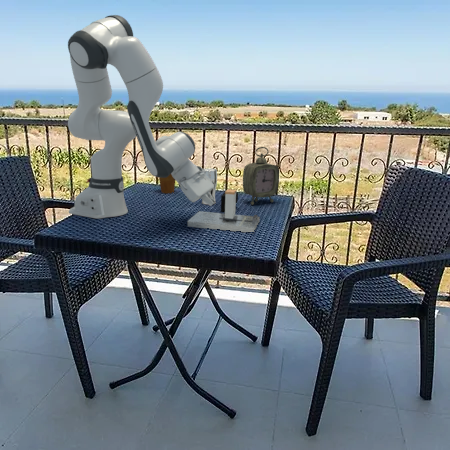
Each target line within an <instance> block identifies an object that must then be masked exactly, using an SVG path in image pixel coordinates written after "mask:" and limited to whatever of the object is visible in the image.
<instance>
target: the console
mask: <svg viewBox="0 0 450 450" xmlns="http://www.w3.org/2000/svg"><path fill="white" fill-rule="evenodd" d="M224 215H225V213H224V212H212V211H201V210H199V211H198V212H196V213H195V214H194V215H193V216H191V218H189V219H188V220H187V227H190V228H198V229H207V228H209V229H208V230H217V229H220V230H219V231H226V230H230V231H229V232H236V231H241V232H240V233H246V232H255V231H256V229H257V228H258V226H259V224H258V223H260V216H258V214H254V215H253V216H252V215H245V214H244V215H243V214H235V216H238V218H237V219H236V220H226V219H222V217H223V216H224ZM257 225H258V226H257ZM254 230H255V231H254Z"/></svg>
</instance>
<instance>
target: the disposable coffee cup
mask: <svg viewBox="0 0 450 450" xmlns="http://www.w3.org/2000/svg"><path fill="white" fill-rule="evenodd" d="M158 179H159V185H160V187H159V188H160V192H161V193H162V194H173V193H175V188H176V187H175V186H176V180H175V179H174V178H173V177H172V175H171V174H170V175H169V176H168V177H166V178H160V177H158ZM172 192H173V193H172Z"/></svg>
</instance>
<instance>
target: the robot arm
mask: <svg viewBox="0 0 450 450" xmlns="http://www.w3.org/2000/svg"><path fill="white" fill-rule="evenodd" d="M67 48H68V52H69V56H70V57H69V58H70V64H71V71H72V73H73V78H74V82H75V86H76V89H77V95H78V103H77V104H78V105H77V107H76V108H75V110H74V111H72V112H71V113H70V115H69V117H68V119H67V127H68V131H69V132H70V134H71V135H72V136H73V137H74V138H77V139H82V140H87V141H104V147H103V148H101V149H100V150H98V151H96V152H95V153H93V154H92V156H91V158H90V166H91V177H89V178H88V179H86V181H85V183H88V186H87V187H86V188H85V189H84V190H82V191H81V192H80V193H79V194H77V195H76V197H75V199H74V206H73V207H71V208H70V209H69V210H68V214H69V215H75V216H79V217H87V218H90V219H91V218H92V219H104V218H113V217H119V216H123V215H126V214H127V213H128V212H129V210H128V207H127V204H126V200H125V196H124V195H125V194H124V191H125V189H124V185H125V183H124V177H123V173H122V172H123V171H122V170H123V169H122V165H123V164H122V161H123V155H124V152H125V149H126V148H127V146H128V145H129V144H130V142H131V141H133V140H134V139H135V138H136V139H137V142H138V144H139V147H140V149H141V152H142V155H143V160H144V164H145V167H146V169H147V171H148V172H149V173H150V174H151V175H152V176H153V177H155V178H159V177H160V178H166V177H168V176H169V175H170V174H171V175H172V177H173V178H174V179H175V182H176V183H177V184H178V185H179V186H180V190H181V191H182V193H183V194H184V195H185V196H186V198H187V199H188V200H189V201H190V202H192V203H196V202H197V201H199V200H200V199H201V201H202V200H203V201H205V202H206V203H208V205H207V206H210V207H212V206H213V205H215V204H216V203H215V202H216V199H215V200H214V199H213V197H212V195H211V194H210V191H211V190H212V189H213V188H214V184H213V183H212V181H211V180H210V179H209V178H208V176H207V175H206V174H205V173H204V172H203V169H204V168H202V166H199V165H196V164H194V162H192V160H190V158H192V156H193V155H194V154H195V151H196V143H195V141H194V139H193V138H192V136H190V135H189V133H186V132H184V131H177V132H175V133H173V134H171V135H169V136H168V135H162V136H160V137H159V138H158V139H156V140H155V138H154V135H153V131H152V129H151V126H150V118H151V117H150V116H151V114H152V111H153V109H155V106H156V104H157V103H158V102H159V100H160V99H161V97H162V95H163V89H164V81H163V79H162V76H161V74H160V72H159V69H158V68H157V66H156V63H155V62H154V60H153V58H152V57H151V55H150V53H149V52H148V50H147V49H146V47H145V46H144V44H143V43H142V42H141V40H140V39H139V38H137V37H135V36H134V31H133V28H132V26H131V24H130V23H129V21H128V20H127V19H126V18H125V17H123V16H121V15H118V14H111V15H106V16H105V17H103V18H100V19H97V20H95V21H92V22H91V23H90V24H88V25H86V26H85V27H83V28H82V29H80V30H77V31H75V32H74V33H73V34H72V35H71V36H70V37H69V39H68V40H67ZM108 65H111V66H112V67H114V68H115V69H116V70H117V72H118V73H119V75H120V77H121V79H122V81H123V83H124V85H125V87H126V90H127V94H128V103H127V105H126V108H127V111H124V110H108V109H107V110H106V109H102V108H101V107H102V106H103V105H105V104H107V103H108V102H109V101H110V100H111V98H112V95H113V90H112V86H111V81H110V77H109V72H108V68H107V66H108ZM214 203H215V204H214Z"/></svg>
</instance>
